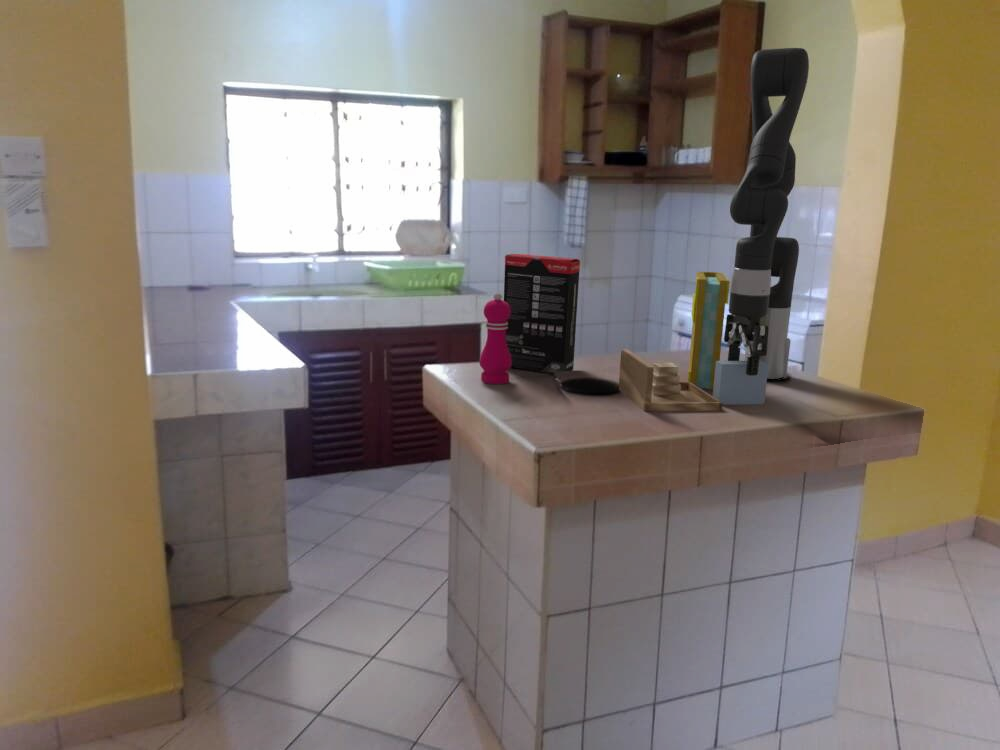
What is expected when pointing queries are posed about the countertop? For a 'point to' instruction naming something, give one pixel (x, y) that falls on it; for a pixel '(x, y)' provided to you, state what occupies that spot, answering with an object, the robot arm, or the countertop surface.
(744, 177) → the robot arm
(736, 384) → the block
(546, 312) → the graphics card box
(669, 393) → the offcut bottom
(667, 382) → the offcut middle
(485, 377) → the pepper mill
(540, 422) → the countertop surface
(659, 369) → the offcut top
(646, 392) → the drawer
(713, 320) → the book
